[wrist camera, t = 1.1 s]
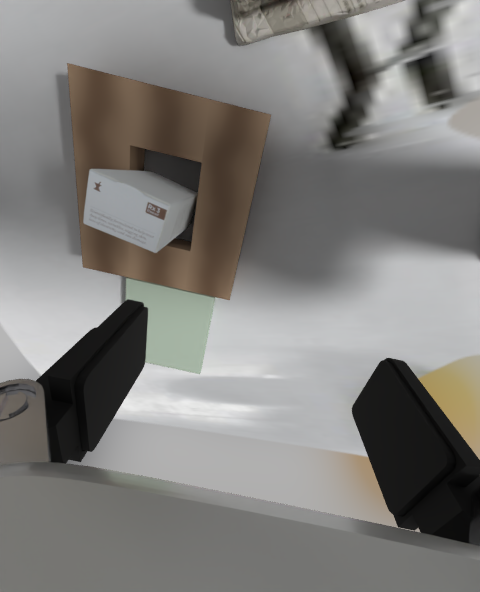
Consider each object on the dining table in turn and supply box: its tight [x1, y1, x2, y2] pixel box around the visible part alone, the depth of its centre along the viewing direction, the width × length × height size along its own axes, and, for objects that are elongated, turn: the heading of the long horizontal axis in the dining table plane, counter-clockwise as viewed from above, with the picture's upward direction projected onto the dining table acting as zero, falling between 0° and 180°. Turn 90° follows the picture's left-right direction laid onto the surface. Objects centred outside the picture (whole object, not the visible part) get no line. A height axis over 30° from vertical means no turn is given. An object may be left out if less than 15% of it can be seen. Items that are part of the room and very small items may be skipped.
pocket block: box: [67, 63, 271, 300], centre depth 27 cm, size 18×19×4 cm
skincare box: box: [83, 169, 198, 253], centre depth 24 cm, size 6×4×12 cm
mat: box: [126, 277, 215, 374], centre depth 37 cm, size 12×14×1 cm
